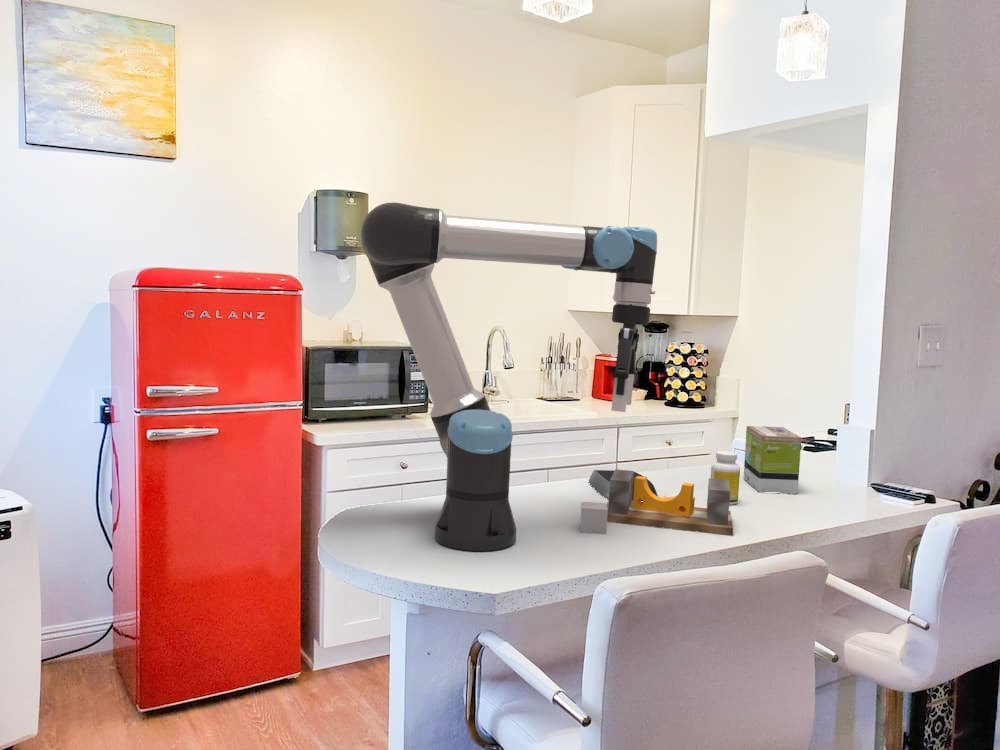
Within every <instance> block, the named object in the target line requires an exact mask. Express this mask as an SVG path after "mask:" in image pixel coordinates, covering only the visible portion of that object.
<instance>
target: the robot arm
mask: <svg viewBox="0 0 1000 750" xmlns="http://www.w3.org/2000/svg"><path fill="white" fill-rule="evenodd" d="M360 237H361V238H360V239H361V245H362V246H361V247H362V249H363V251H364V255H365V256H366V258H367V259H368V262H369V265H370V267H371V270H372V272H373V274H374V277H375V279H376V282H377V284H378V286H379V287H380V288H382V289H385V290H386V291H388V292H389V293H390V296H391V299H392V301H393V304H394V305H395V309H396V311H397V314H398V316H399V318H400V319H399V320H400V321H401V324H402V326H403V329H404V332H405V334H406V337H407V339H408V342H409V344H410V348H411V350H412V352H413V354H414V357H415V359H416V362H417V365H418V367H419V370H420V372H421V375H422V377H423V380H424V382H425V385H426V388H427V391H428V393H429V395H430V397H431V400H432V403H433V406H432V408H431V410H430V412H429V416H430V418H431V421H432V423H433V426H434V428H435V432H436V433H437V436H438V439H439V444H440V446H441V448H442V449H441V450H442V451H443V453H444V454H445V456H446V461H447V462H446V463H447V464H446V482H445V483H446V488H445V490H446V491H445V497H444V498H445V499H444V502H443V503H442V507H441V509H440V512H439V515H438V517H437V521H436V523H435V528H434V540H435V541H436V542H437V543H439V544H441V545H442V546H444V547H448V548H452V549H456V550H463V551H471V552H476V551H478V552H486V551H488V552H489V551H498V550H502V549H506V548H510V547H511V546H513V545H515V544H516V542H517V527H516V523H515V519H514V516H513V511H512V507H511V504H510V500H509V498H510V497H509V496H510V495H509V494H510V478H511V477H510V473H511V456H512V441H513V437H514V435H513V430H512V429H513V426H512V421H511V419H510V418H508V416H506V415H505V414H502V413H500V412H496V411H495V410H494V411H493V410H491V409H490V406H489V403H488V401H487V398H486V395H485V393H484V392H482V391H480V390H477V389H476V388H474V385H473V382H472V379H471V377H470V375H469V372H468V369H467V367H466V364H465V362H464V358H463V357H462V353H461V351H460V348H459V346H458V344H457V341H456V337H455V335H454V333H453V331H452V327H451V325H450V322H449V320H448V317H447V314H446V312H445V310H444V307H443V304H442V301H441V299H440V297H439V294H438V292H437V289H436V286H435V283H434V281H433V278H432V273H433V270H434V268H435V266H436V264H438V263H439V262H440V261H442V260H443V259H450V260H451V259H454V260H468V261H469V260H470V261H484V262H485V261H486V262H496V263H497V262H501V263H516V264H530V265H546V266H548V265H549V266H558V267H559V266H561V267H562V268H564V269H569V270H574V271H586V272H597V273H598V272H599V273H609V274H615V283H614V290H613V291H614V292H613V302H615V304H614V305H613V306H612V315H611V320H612V322H613V323H619V324H622V325H623V326H622V327H620V329H619V332H618V336H617V341H618V342H617V355H616V362H615V369H614V371H613V372H611V377H610V378H611V379H612V378H613V379H614V380H613V381H614V382H613V391H612V400H611V401H612V402H611V411H613V412H621V413H626V409H627V406H631V405H632V399H633V397H632V396H633V388H634V380H635V379H634V378H635V377H634V376H635V375H638V371H639V370H638V369H636V356H637V351H638V346H639V345H638V343H639V340H640V334H639V329H638V328H637V325H638V326H648V325H649V324H650V318H651V317H650V314H651V309H650V307H648V305H651V302H652V295H655V294H656V290H655V289H652V288H653V284H654V274H655V267H656V259H657V253H658V251H657V250H658V233H657V232H656V230H654V229H653V228H649V227H641V226H624V227H620V226H614V225H607V226H605V227H602V226H590V225H589V226H583V225H578V224H577V225H576V224H575V225H574V224H565V223H564V224H563V223H552V222H551V223H549V222H540V221H539V222H536V221H525V220H513V219H512V220H511V219H499V218H488V217H486V218H484V217H471V216H460V215H459V216H458V215H447V214H446V213H445V212H444V211H443V210H442V209H441V208H434V207H433V208H432V207H423V206H418V205H417V206H416V205H411V204H407V203H401V202H395V201H394V202H386V203H381V204H380V205H378V206H375V207H374V208H373V209H371V210H370V211H369V212H368V213H367V215H366V216H365V218H364V219H363V222H362V225H361V229H360Z"/></svg>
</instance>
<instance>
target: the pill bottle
mask: <svg viewBox="0 0 1000 750" xmlns="http://www.w3.org/2000/svg"><path fill="white" fill-rule="evenodd" d="M715 459H716V461H715V462H713V463H712V464H711V467H710V478H712V479H722V480H728V481H729V487H730V503H729V506H732V505H735V504H737V503H738V501H739V490H740V477H741V467H740V466H739V465H738V464H737V463H736V461H737V460H738V453H736V452H733V451H726V450H725V451H724V450H718V451H716V452H715Z"/></svg>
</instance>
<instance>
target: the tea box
mask: <svg viewBox="0 0 1000 750" xmlns="http://www.w3.org/2000/svg"><path fill="white" fill-rule="evenodd" d="M745 432H746V433H745V447H744V466H743V480H745V481H746V482H747V483H748V484H749V485H751V487H753V488H754V489H755V490H756V491H757V492H758V493H759V492H780V493H794V494H793V495H798V489H799V475H800V464H801V463H800V461H801V451H802V450H801V449H802V436H800V435H798V434H796V433H794V432H792V431H790V430H789V429H786V428H785V427H782V426H781V427H780V426H764V425H763V426H762V425H758V426H757V425H755V426H752V425H747V426H746V431H745Z"/></svg>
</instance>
